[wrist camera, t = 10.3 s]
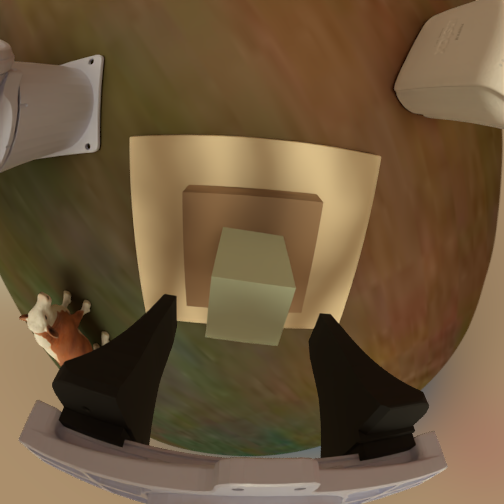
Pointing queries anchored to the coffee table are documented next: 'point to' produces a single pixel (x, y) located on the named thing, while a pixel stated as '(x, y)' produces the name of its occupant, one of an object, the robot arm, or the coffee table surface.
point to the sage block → (250, 288)
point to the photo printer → (458, 66)
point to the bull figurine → (60, 328)
